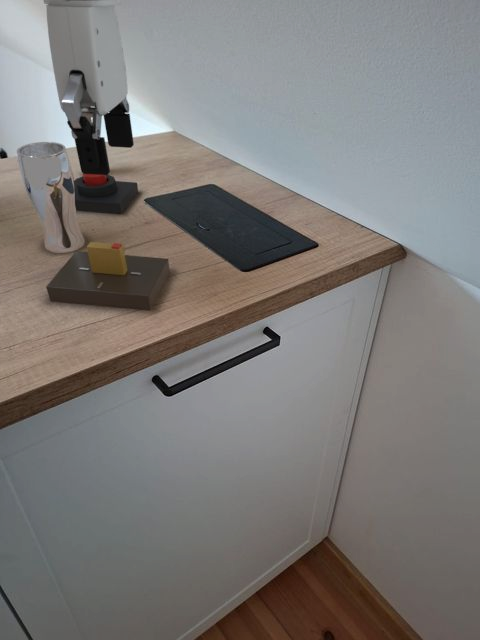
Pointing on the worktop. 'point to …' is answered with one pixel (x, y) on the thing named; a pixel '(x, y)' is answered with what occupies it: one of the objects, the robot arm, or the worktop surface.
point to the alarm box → (105, 196)
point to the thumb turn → (107, 258)
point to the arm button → (94, 179)
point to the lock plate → (110, 283)
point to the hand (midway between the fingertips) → (109, 159)
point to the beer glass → (52, 193)
